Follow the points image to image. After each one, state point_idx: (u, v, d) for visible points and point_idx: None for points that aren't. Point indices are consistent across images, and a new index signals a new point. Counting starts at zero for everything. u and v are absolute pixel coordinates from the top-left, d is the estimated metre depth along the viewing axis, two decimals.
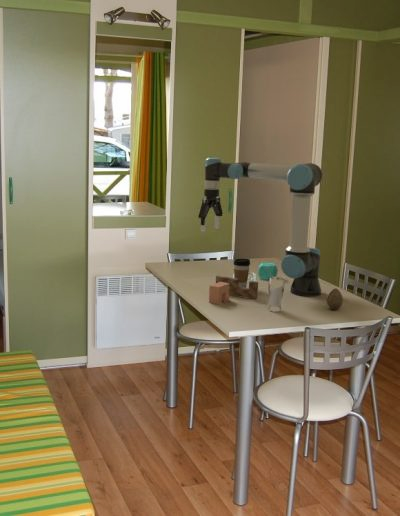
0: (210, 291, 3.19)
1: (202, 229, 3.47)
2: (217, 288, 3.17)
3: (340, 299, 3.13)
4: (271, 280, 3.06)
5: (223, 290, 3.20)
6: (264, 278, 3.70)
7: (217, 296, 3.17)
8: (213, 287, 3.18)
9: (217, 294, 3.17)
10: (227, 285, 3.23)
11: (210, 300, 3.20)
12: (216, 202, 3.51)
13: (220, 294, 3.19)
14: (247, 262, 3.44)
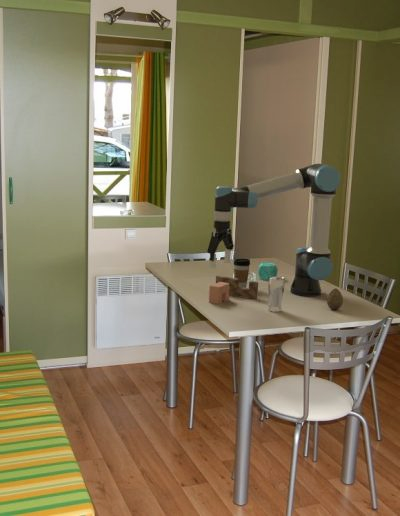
0: (210, 291, 3.19)
1: (211, 265, 3.15)
2: (217, 288, 3.17)
3: (340, 299, 3.13)
4: (271, 280, 3.06)
5: (223, 290, 3.20)
6: (264, 278, 3.70)
7: (217, 296, 3.17)
8: (213, 287, 3.18)
9: (217, 294, 3.17)
10: (227, 285, 3.23)
11: (210, 300, 3.20)
12: (227, 235, 3.19)
13: (220, 294, 3.19)
14: (247, 262, 3.44)
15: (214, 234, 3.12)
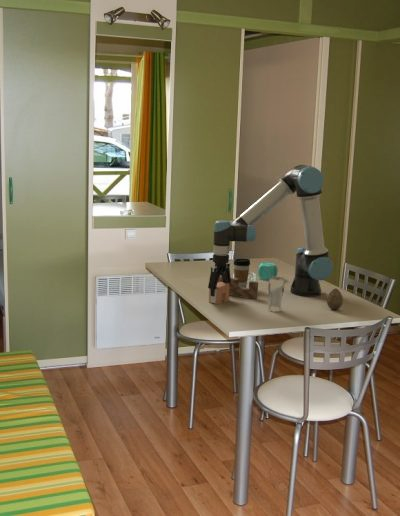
0: (210, 291, 3.19)
1: (212, 300, 3.18)
2: (217, 288, 3.17)
3: (340, 299, 3.13)
4: (271, 280, 3.06)
5: (223, 290, 3.20)
6: (264, 278, 3.70)
7: (217, 296, 3.17)
8: None
9: (217, 294, 3.17)
10: (227, 285, 3.23)
11: None
12: (225, 268, 3.21)
13: (220, 294, 3.19)
14: (247, 262, 3.44)
15: (213, 270, 3.14)
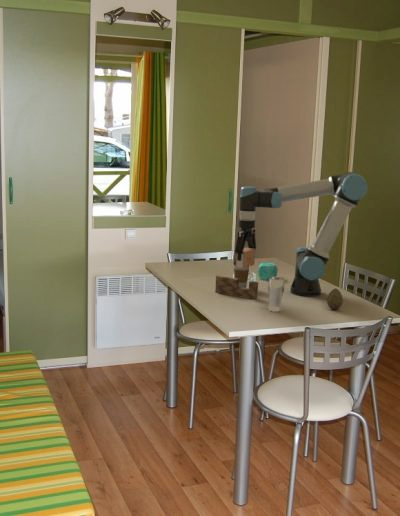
0: (236, 256, 3.26)
1: (239, 265, 3.25)
2: (244, 252, 3.24)
3: (340, 299, 3.13)
4: (271, 280, 3.06)
5: (249, 255, 3.27)
6: (264, 278, 3.70)
7: (244, 260, 3.24)
8: None
9: (243, 258, 3.24)
10: (253, 250, 3.30)
11: (236, 265, 3.27)
12: (251, 234, 3.28)
13: (246, 258, 3.25)
14: None
15: (240, 234, 3.21)
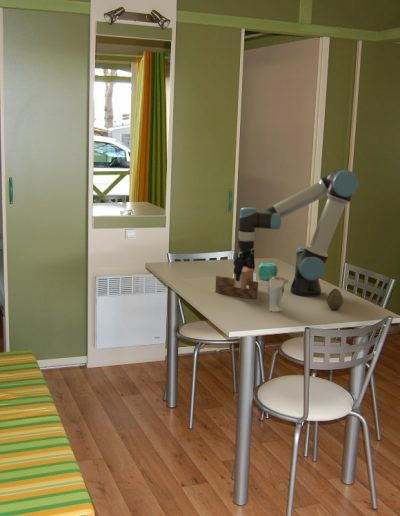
0: (235, 276, 3.28)
1: (237, 285, 3.27)
2: (242, 273, 3.26)
3: (340, 299, 3.13)
4: (271, 280, 3.06)
5: (247, 275, 3.29)
6: (264, 278, 3.70)
7: (242, 280, 3.27)
8: None
9: (242, 278, 3.26)
10: (251, 270, 3.32)
11: None
12: (250, 254, 3.30)
13: (245, 279, 3.28)
14: None
15: (239, 255, 3.23)
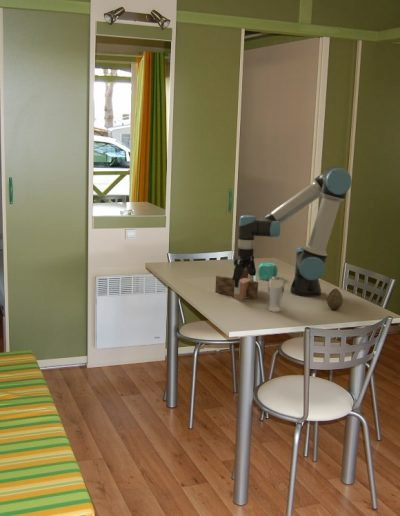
0: None
1: (236, 291, 3.27)
2: (242, 284, 3.27)
3: (340, 299, 3.13)
4: (271, 280, 3.06)
5: (247, 286, 3.30)
6: (264, 278, 3.70)
7: (242, 291, 3.28)
8: None
9: (241, 289, 3.28)
10: None
11: (235, 295, 3.30)
12: (250, 262, 3.31)
13: (245, 290, 3.29)
14: None
15: (239, 262, 3.24)
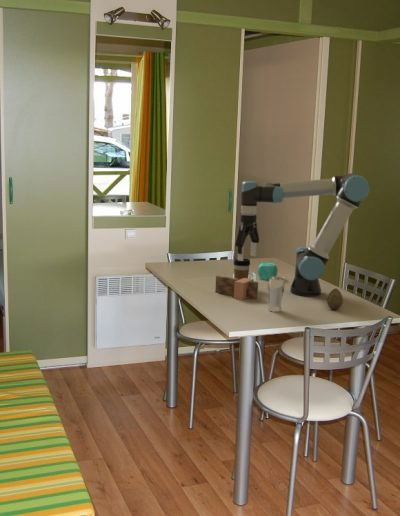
0: (235, 287, 3.29)
1: (239, 258, 3.24)
2: (242, 284, 3.27)
3: (340, 299, 3.13)
4: (271, 280, 3.06)
5: (247, 286, 3.30)
6: (264, 278, 3.70)
7: (242, 291, 3.28)
8: (238, 283, 3.28)
9: (241, 289, 3.28)
10: None
11: (235, 295, 3.30)
12: (253, 228, 3.28)
13: (245, 290, 3.29)
14: (247, 262, 3.44)
15: (242, 228, 3.21)
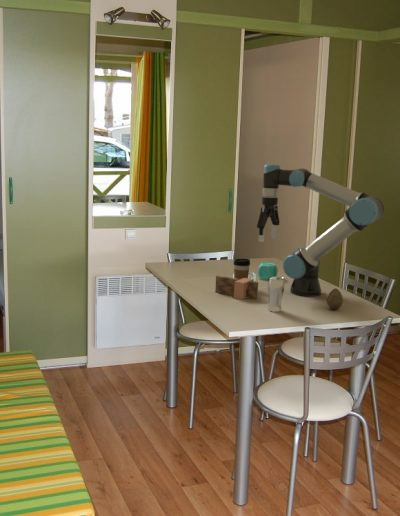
0: (235, 287, 3.29)
1: (260, 239, 3.30)
2: (242, 284, 3.27)
3: (340, 299, 3.13)
4: (271, 280, 3.06)
5: (247, 286, 3.30)
6: (264, 278, 3.70)
7: (242, 291, 3.28)
8: (238, 283, 3.28)
9: (241, 289, 3.28)
10: None
11: (235, 295, 3.30)
12: (274, 211, 3.35)
13: (245, 290, 3.29)
14: (247, 262, 3.44)
15: (263, 210, 3.28)
